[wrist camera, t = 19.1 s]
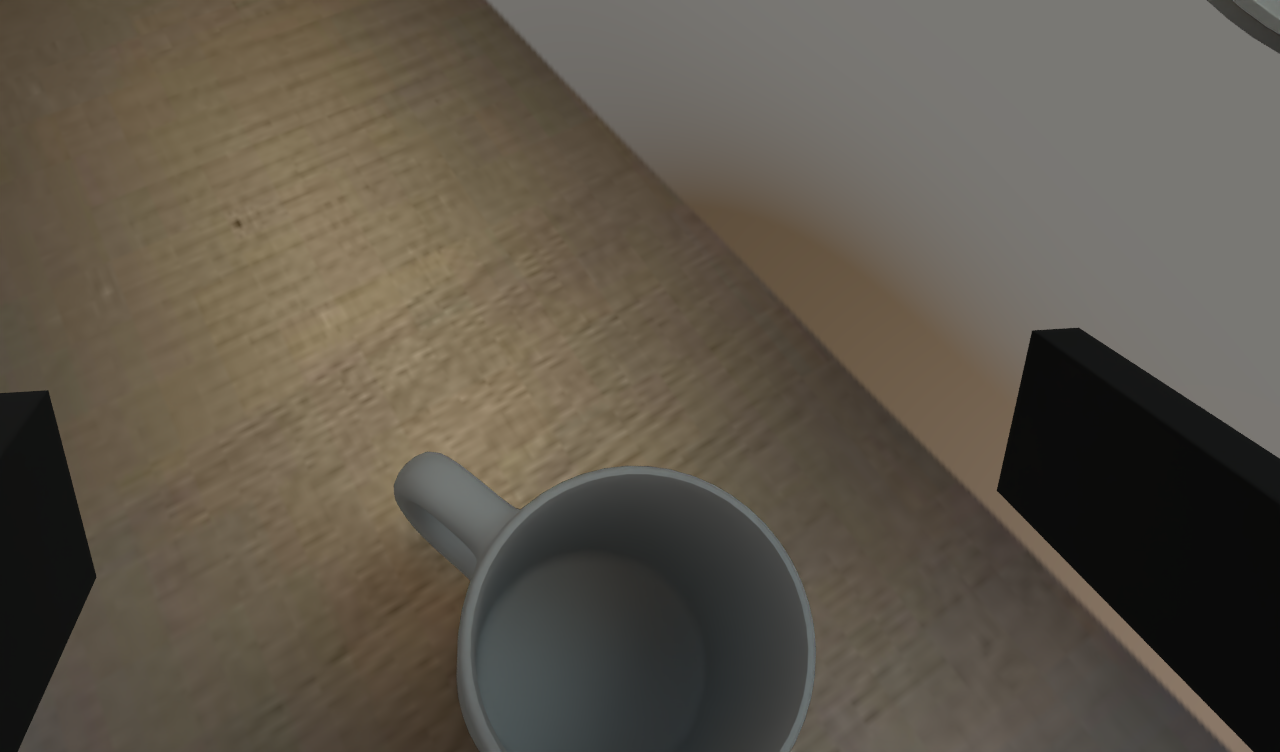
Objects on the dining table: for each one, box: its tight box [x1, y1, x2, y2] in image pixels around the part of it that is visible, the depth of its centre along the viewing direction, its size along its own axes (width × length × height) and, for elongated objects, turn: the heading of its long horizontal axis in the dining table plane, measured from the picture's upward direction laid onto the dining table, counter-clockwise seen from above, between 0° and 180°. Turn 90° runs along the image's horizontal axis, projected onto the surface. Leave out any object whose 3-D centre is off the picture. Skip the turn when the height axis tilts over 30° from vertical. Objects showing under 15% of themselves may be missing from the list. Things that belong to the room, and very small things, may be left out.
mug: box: [394, 452, 816, 752], centre depth 28 cm, size 12×8×11 cm
